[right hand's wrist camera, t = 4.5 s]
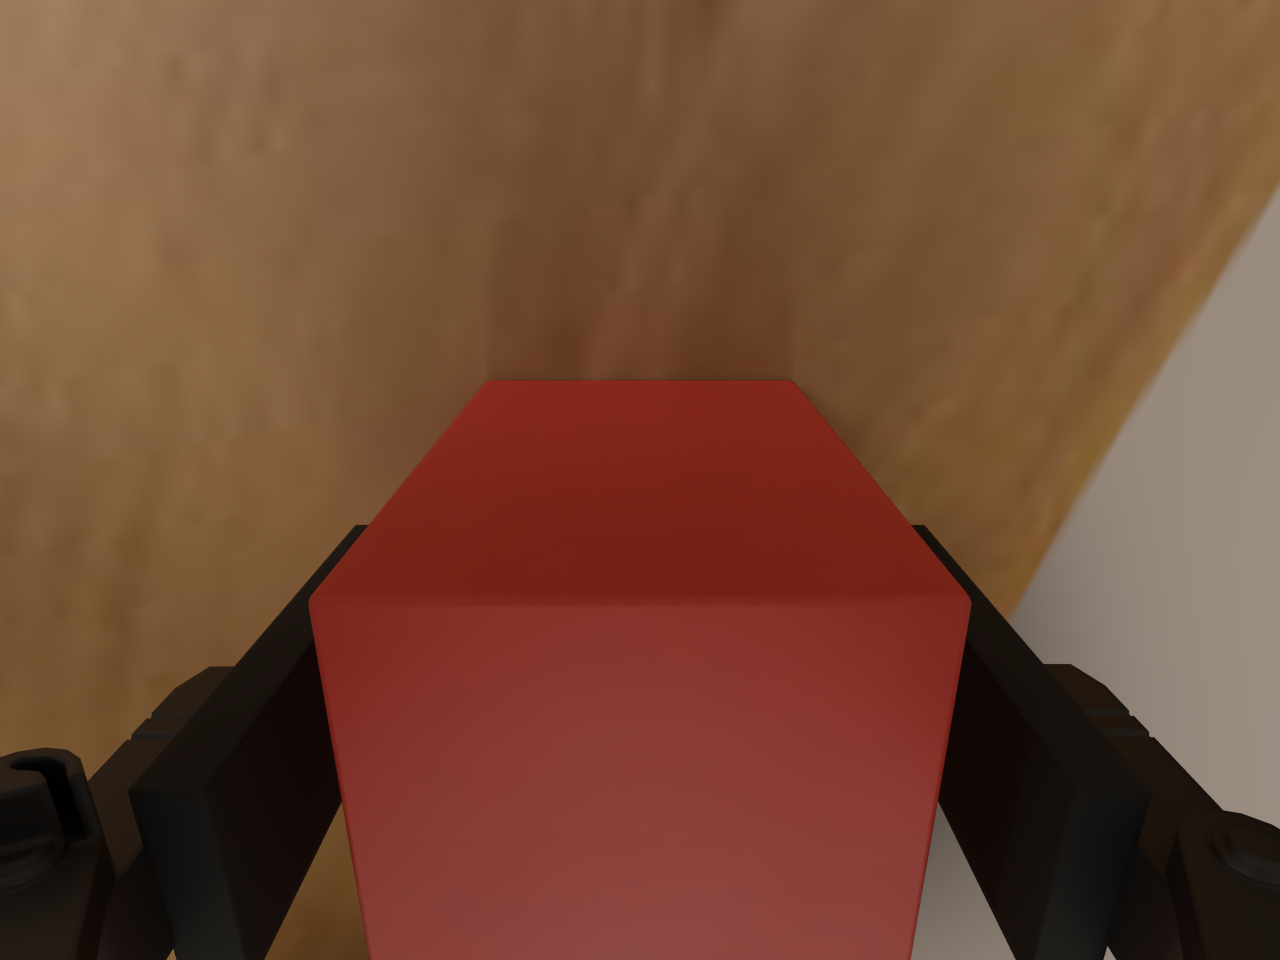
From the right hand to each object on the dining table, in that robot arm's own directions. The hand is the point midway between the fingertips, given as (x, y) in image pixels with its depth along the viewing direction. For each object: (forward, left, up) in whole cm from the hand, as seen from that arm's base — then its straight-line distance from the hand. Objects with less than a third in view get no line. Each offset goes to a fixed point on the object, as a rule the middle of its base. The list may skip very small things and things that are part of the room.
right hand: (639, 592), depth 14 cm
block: (0, 0, -3) cm, 3 cm away
